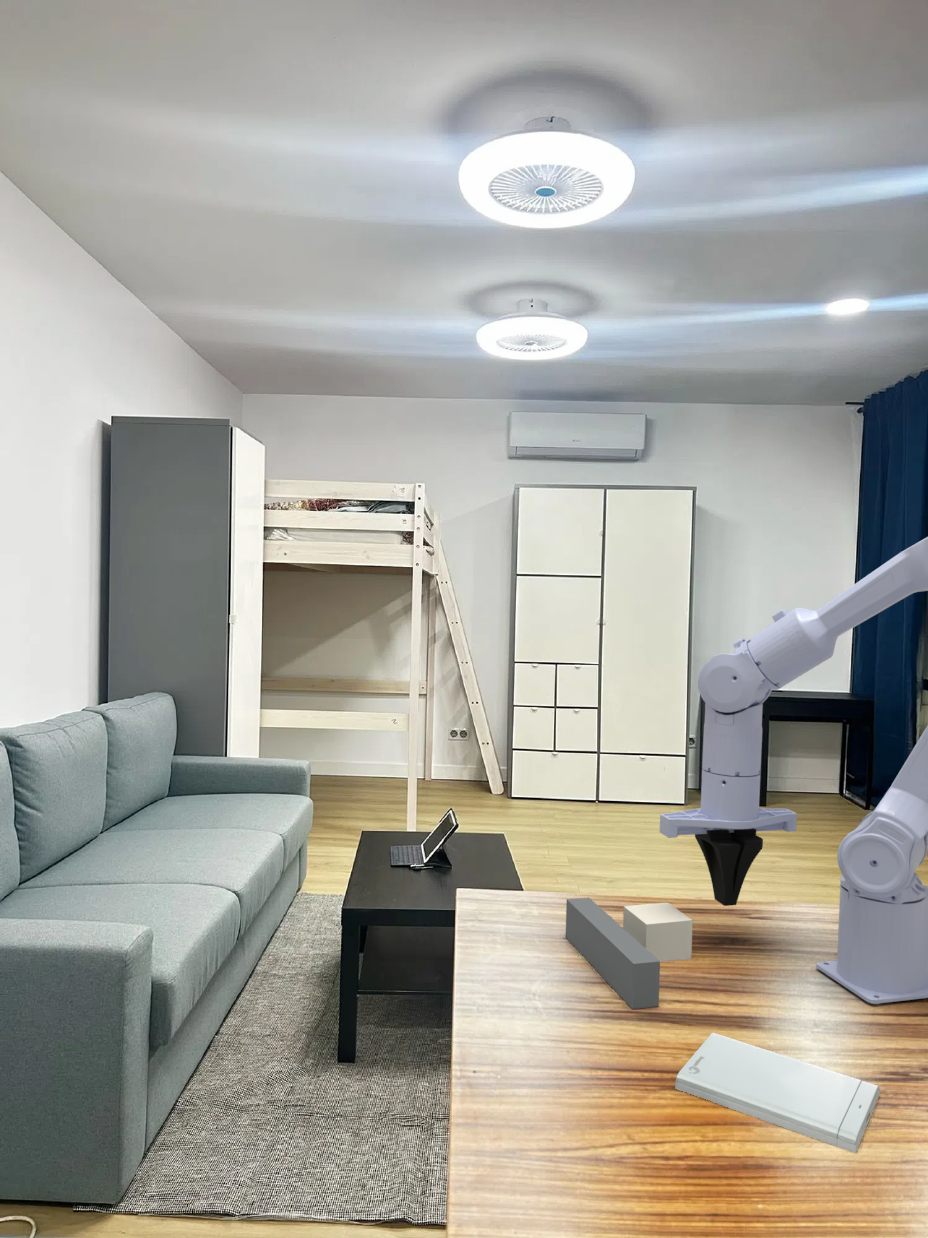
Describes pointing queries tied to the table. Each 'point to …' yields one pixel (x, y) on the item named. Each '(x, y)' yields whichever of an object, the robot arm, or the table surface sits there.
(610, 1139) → the table surface
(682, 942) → the cream block
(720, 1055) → the hard drive
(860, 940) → the robot arm
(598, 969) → the gray bar
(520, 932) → the table surface
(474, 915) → the table surface
